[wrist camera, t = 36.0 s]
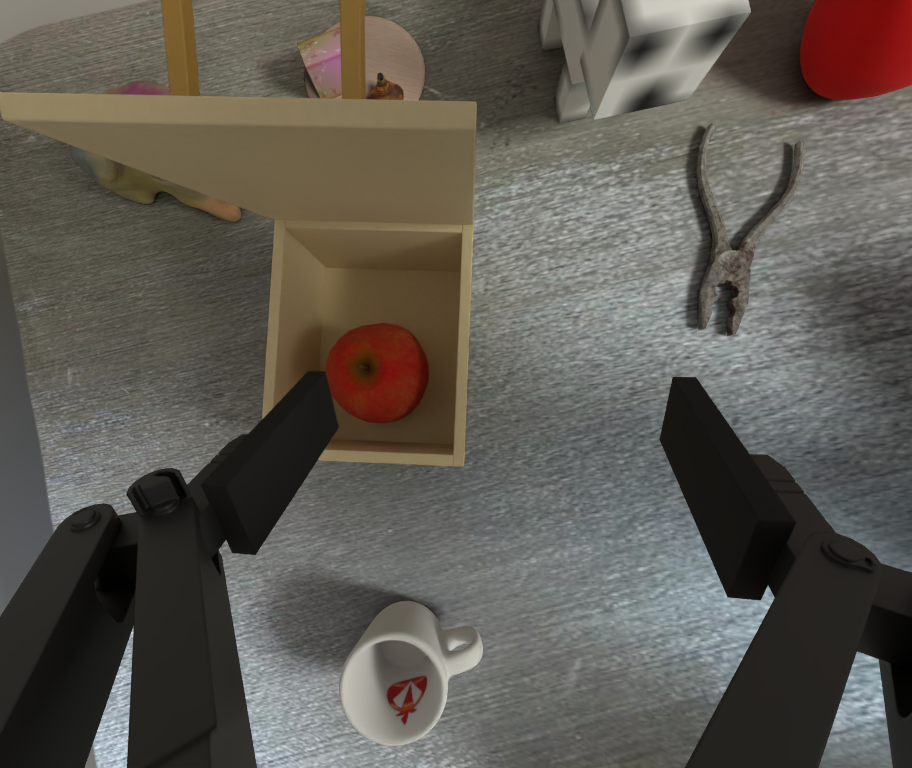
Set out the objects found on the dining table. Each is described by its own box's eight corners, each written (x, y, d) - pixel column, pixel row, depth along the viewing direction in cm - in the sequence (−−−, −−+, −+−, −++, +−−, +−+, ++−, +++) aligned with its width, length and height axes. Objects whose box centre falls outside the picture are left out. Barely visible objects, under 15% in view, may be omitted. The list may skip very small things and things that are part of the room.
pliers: (805, 122, 40) (810, 335, 39) (798, 128, 41) (803, 337, 40) (699, 121, 40) (701, 333, 39) (694, 127, 41) (696, 335, 40)
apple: (404, 317, 40) (380, 283, 29) (450, 391, 39) (444, 385, 29) (329, 363, 40) (278, 347, 29) (374, 439, 39) (340, 450, 29)
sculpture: (104, 209, 42) (-8, 148, 32) (118, 126, 43) (11, 40, 33) (250, 225, 42) (182, 167, 32) (262, 141, 42) (199, 58, 32)
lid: (475, 130, 13) (490, -265, 11) (0, 120, 13) (-65, -263, 11) (473, 225, 31) (478, 82, 29) (272, 219, 31) (264, 78, 29)
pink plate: (328, 150, 42) (312, 120, 37) (287, 42, 43) (266, -1, 38) (443, 106, 42) (440, 70, 37) (400, -2, 43) (392, -50, 38)
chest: (464, 452, 40) (464, 466, 30) (309, 446, 40) (259, 457, 31) (471, 266, 41) (473, 221, 31) (320, 261, 41) (274, 216, 32)
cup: (469, 571, 39) (470, 613, 31) (491, 659, 39) (497, 724, 31) (355, 599, 39) (327, 647, 31) (375, 687, 39) (351, 759, 31)
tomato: (745, 77, 41) (868, -68, 29) (820, -13, 42) (973, -196, 29) (851, 155, 41) (1023, 41, 28) (926, 63, 41) (1130, -90, 28)
